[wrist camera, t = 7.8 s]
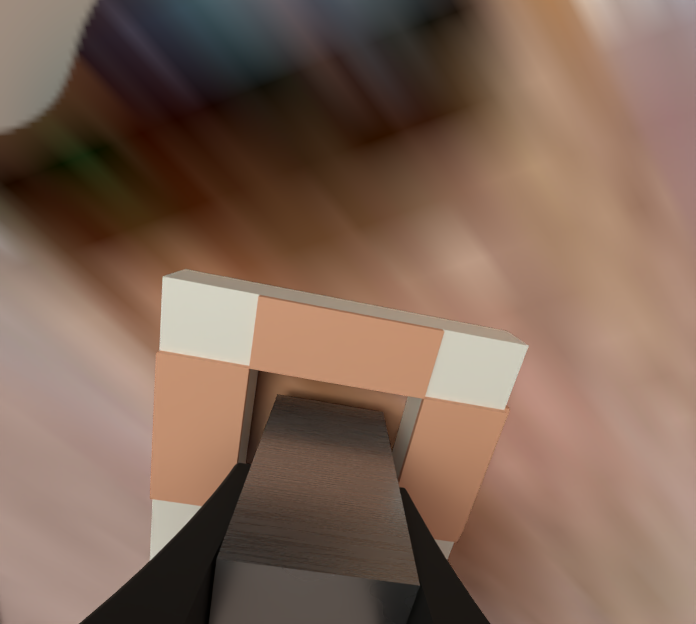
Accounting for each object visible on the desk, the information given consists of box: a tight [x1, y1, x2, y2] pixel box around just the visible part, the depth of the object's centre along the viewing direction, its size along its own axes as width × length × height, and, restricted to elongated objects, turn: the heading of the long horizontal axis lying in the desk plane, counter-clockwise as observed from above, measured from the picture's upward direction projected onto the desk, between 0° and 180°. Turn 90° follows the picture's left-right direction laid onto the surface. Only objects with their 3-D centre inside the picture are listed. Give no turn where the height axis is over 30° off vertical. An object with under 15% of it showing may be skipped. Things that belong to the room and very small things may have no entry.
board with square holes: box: [150, 269, 528, 560], centre depth 14 cm, size 12×22×2 cm, turn 169°
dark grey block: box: [209, 394, 420, 624], centre depth 10 cm, size 4×4×6 cm
